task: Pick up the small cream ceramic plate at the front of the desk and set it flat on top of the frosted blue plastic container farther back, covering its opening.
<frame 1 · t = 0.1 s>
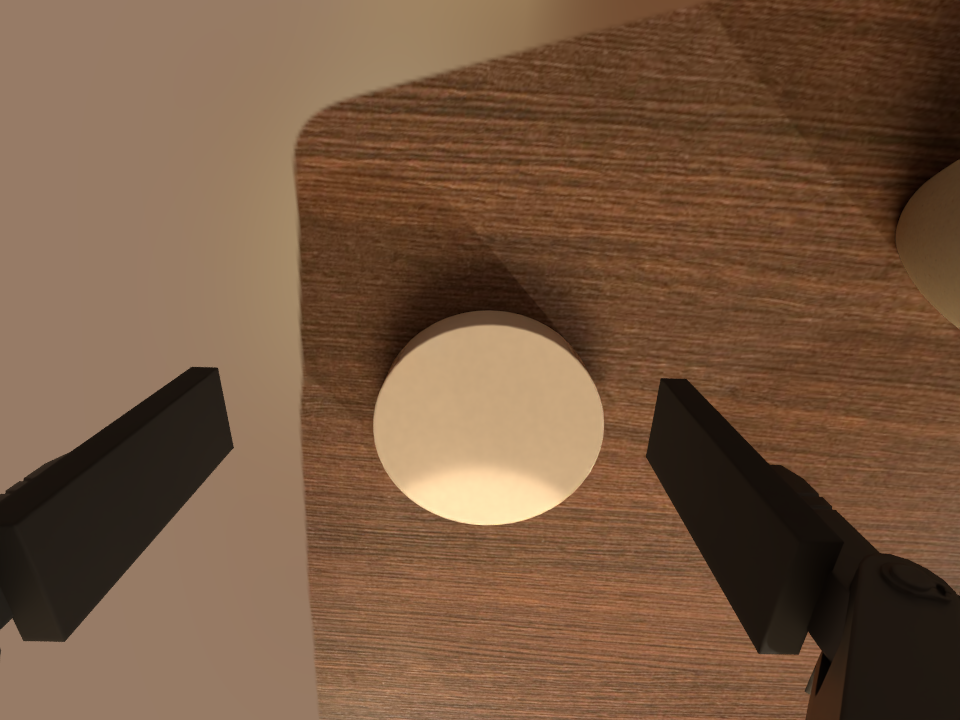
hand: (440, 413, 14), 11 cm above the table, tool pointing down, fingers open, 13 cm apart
small plate: (487, 412, 27), on the table
flower pot: (945, 221, 23), on the table
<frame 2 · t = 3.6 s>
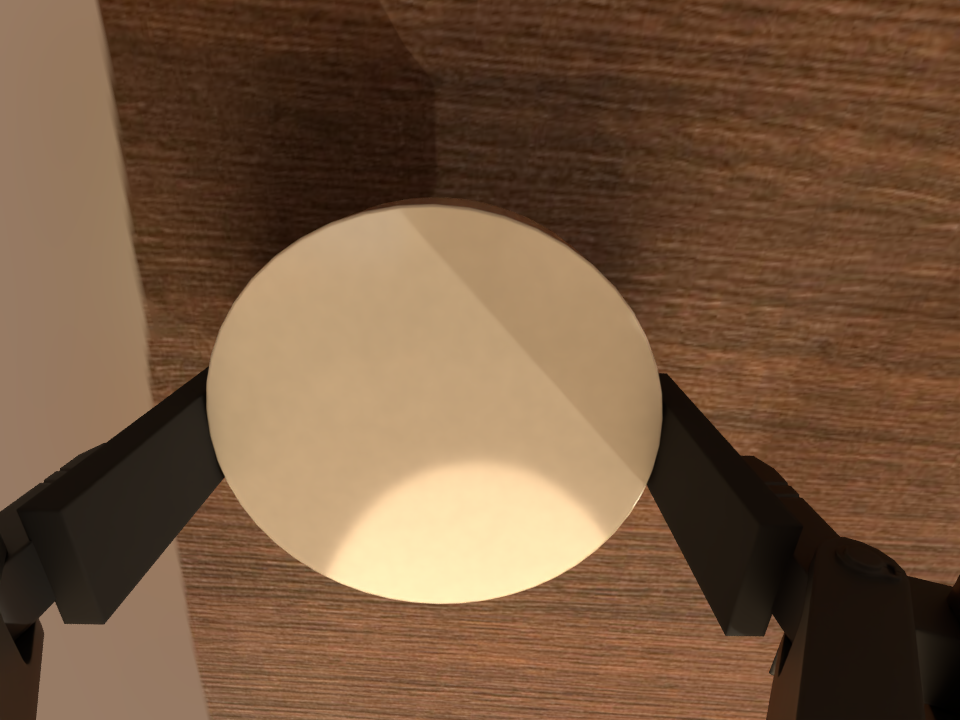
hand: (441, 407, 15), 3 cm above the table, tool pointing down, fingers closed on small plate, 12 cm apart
small plate: (442, 399, 15), point 2 cm above the table, touching gripper
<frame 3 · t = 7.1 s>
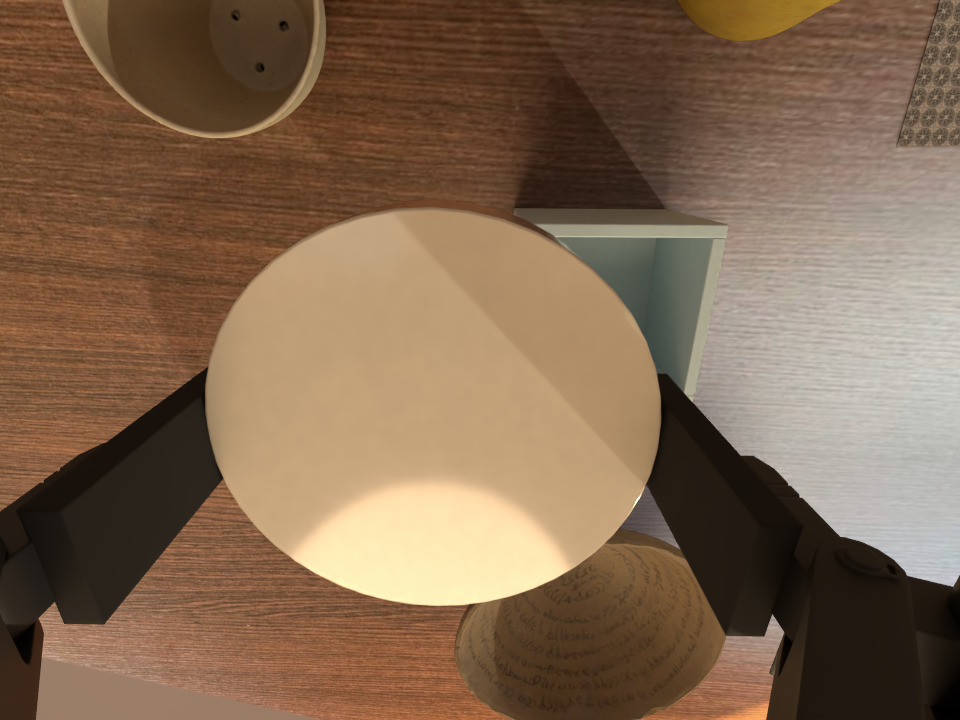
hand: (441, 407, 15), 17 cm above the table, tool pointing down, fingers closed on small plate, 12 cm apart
small plate: (441, 401, 15), point 16 cm above the table, touching gripper
container: (583, 284, 30), on the table
flower pot: (266, 40, 25), on the table
bowl: (569, 558, 39), on the table
when the fingers open (8 cm above the table, at t = 10.8 s): small plate stays where it is, resting on container.
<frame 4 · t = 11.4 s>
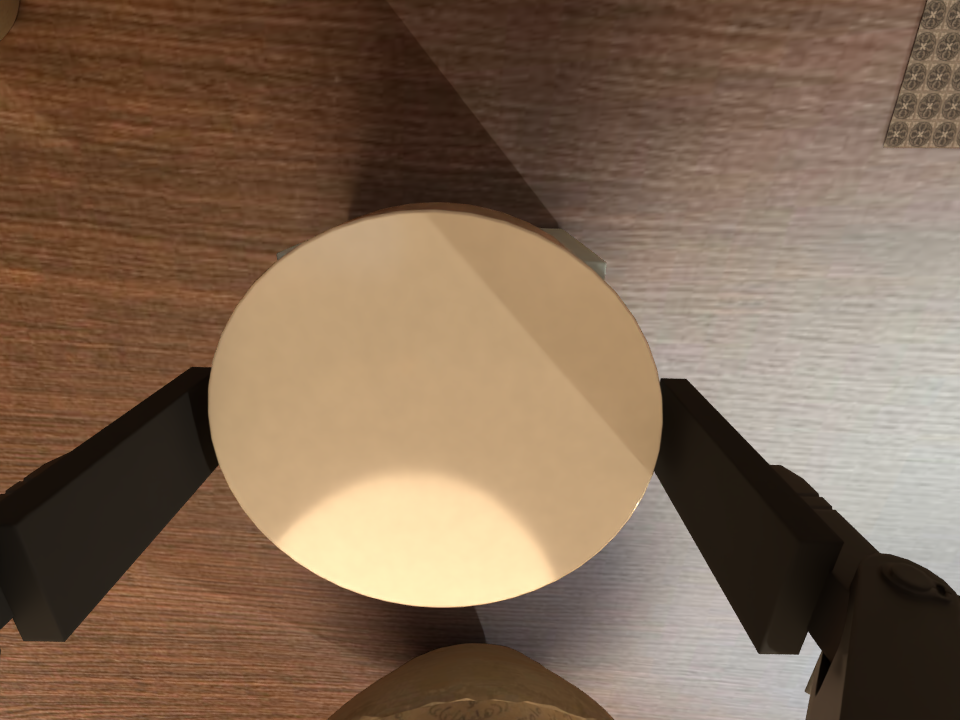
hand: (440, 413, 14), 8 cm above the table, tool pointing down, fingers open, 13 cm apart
small plate: (443, 403, 15), point 8 cm above the table, touching container
container: (454, 328, 22), on the table
bowl: (467, 665, 31), on the table
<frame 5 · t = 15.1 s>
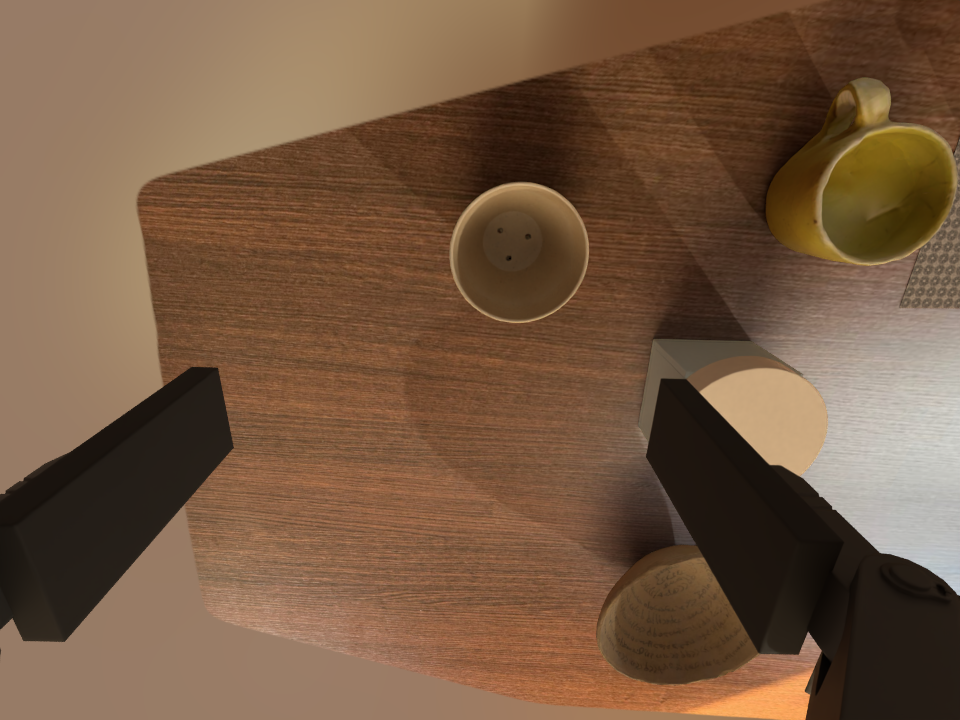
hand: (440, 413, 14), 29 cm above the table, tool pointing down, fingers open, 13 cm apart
small plate: (731, 423, 39), point 8 cm above the table, touching container
container: (692, 384, 46), on the table
flower pot: (512, 241, 41), on the table
bowl: (661, 565, 55), on the table
mug: (810, 174, 39), on the table
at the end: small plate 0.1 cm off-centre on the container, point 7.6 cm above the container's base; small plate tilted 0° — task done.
